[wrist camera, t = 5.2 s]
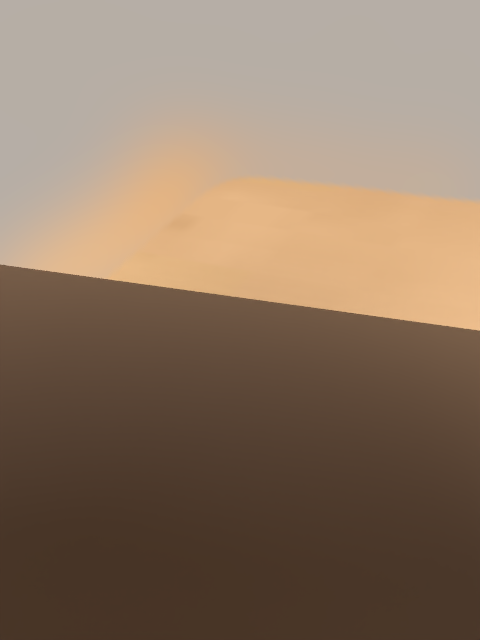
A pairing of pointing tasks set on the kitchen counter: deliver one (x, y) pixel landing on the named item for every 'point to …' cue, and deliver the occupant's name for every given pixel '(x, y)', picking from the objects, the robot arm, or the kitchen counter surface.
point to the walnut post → (232, 468)
